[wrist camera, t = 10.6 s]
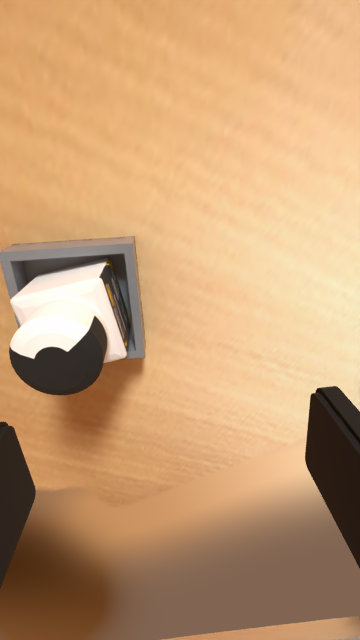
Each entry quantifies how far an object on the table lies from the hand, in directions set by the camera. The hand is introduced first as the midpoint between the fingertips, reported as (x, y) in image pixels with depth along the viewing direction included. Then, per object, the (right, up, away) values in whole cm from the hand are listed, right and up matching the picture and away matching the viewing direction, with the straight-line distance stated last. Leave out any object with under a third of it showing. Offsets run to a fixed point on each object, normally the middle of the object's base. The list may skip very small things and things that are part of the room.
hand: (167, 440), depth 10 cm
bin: (-9, +6, +22) cm, 25 cm away
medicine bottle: (-9, +6, +22) cm, 24 cm away
